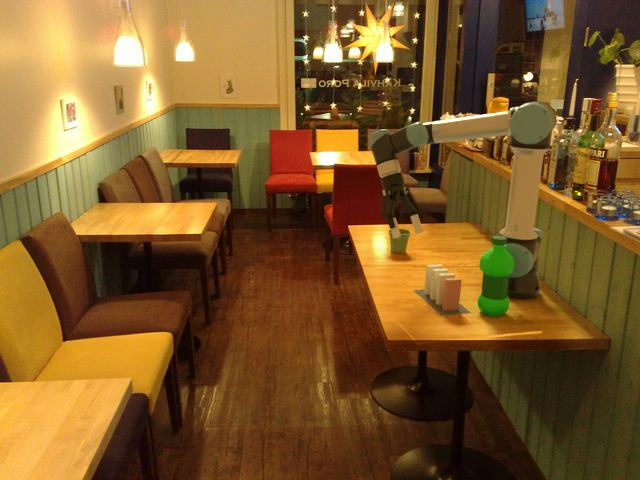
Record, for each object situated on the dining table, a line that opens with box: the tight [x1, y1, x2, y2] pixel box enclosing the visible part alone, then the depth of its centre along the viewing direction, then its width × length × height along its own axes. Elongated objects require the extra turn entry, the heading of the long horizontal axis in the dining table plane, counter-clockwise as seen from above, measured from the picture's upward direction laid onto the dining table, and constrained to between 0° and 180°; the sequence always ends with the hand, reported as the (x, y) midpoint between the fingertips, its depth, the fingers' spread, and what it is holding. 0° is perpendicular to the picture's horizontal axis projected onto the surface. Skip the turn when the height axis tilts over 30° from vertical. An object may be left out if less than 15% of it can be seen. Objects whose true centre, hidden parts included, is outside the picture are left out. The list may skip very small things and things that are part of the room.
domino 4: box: [442, 277, 463, 310], centre depth 191 cm, size 2×5×10 cm, turn 105°
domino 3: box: [436, 272, 456, 305], centre depth 195 cm, size 2×5×10 cm, turn 105°
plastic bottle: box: [477, 235, 515, 317], centre depth 187 cm, size 10×10×25 cm
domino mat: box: [413, 288, 472, 316], centre depth 198 cm, size 22×10×1 cm, turn 15°
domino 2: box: [430, 268, 450, 300], centre depth 199 cm, size 2×5×10 cm, turn 105°
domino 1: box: [424, 263, 443, 295], centre depth 203 cm, size 2×5×10 cm, turn 105°
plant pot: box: [387, 228, 412, 254], centre depth 251 cm, size 9×9×9 cm
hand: (408, 235), depth 203 cm, fingers open, 13 cm apart
